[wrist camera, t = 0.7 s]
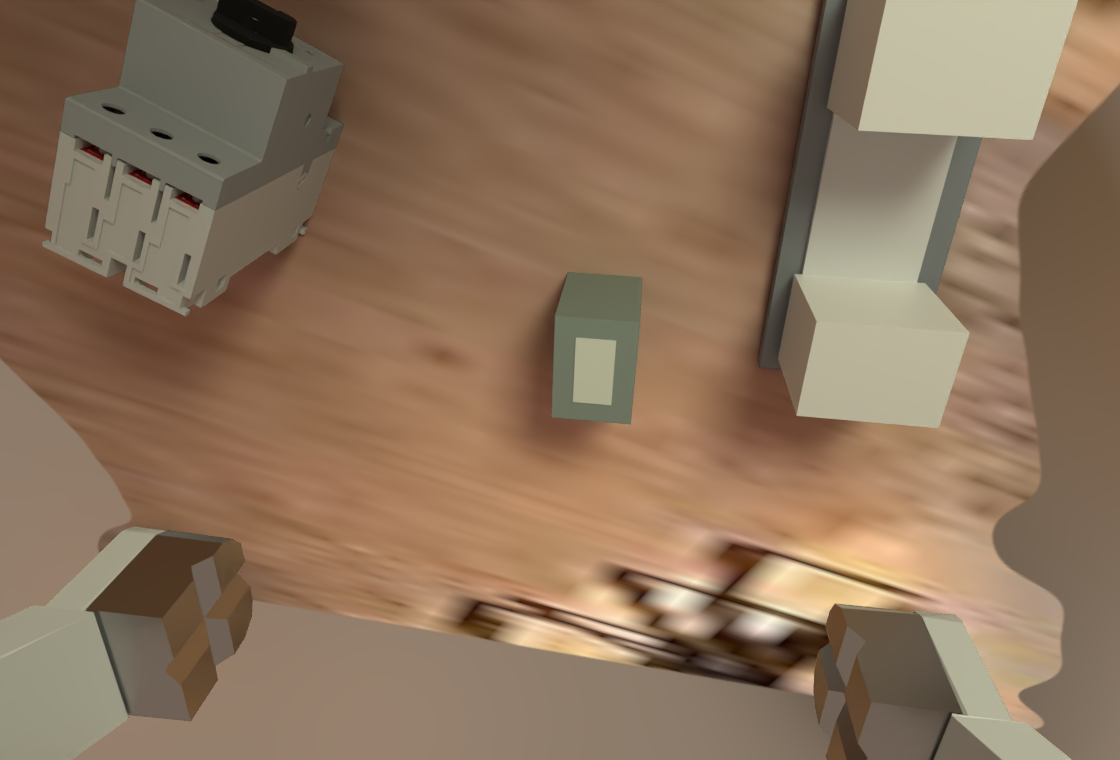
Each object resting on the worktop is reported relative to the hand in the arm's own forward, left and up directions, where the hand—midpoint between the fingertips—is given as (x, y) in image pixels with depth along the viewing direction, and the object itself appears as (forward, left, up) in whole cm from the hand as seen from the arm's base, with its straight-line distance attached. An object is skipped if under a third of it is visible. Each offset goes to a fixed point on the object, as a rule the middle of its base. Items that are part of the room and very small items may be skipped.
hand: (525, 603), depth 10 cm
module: (+13, -1, -40) cm, 42 cm away
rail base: (+3, +15, -40) cm, 43 cm away
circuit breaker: (0, -22, -40) cm, 46 cm away
